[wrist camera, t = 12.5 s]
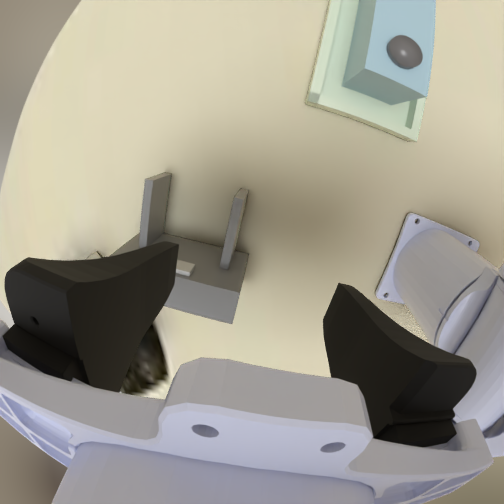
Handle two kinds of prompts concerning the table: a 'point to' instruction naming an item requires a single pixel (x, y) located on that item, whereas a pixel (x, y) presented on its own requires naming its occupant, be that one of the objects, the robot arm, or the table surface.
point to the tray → (346, 100)
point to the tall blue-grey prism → (391, 50)
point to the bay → (195, 257)
